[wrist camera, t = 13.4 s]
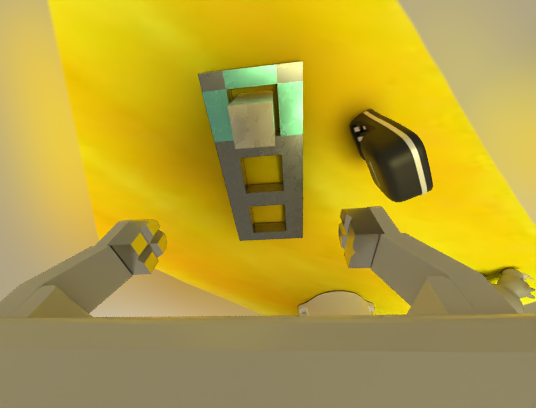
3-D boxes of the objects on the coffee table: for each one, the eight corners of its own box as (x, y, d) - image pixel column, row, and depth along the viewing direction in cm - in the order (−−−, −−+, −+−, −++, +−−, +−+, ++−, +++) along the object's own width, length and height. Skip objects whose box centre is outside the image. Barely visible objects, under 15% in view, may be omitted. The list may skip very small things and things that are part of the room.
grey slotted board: (301, 227, 37) (302, 238, 35) (241, 230, 38) (239, 241, 36) (300, 60, 23) (302, 61, 21) (204, 72, 24) (197, 73, 22)
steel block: (275, 124, 27) (275, 145, 20) (245, 126, 27) (235, 149, 21) (272, 89, 25) (271, 101, 18) (240, 92, 25) (227, 106, 18)
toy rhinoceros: (497, 268, 46) (554, 298, 39) (455, 302, 47) (504, 338, 39) (495, 251, 43) (558, 279, 35) (450, 287, 43) (502, 323, 36)
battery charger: (340, 123, 27) (375, 158, 17) (370, 105, 25) (424, 134, 16) (358, 165, 30) (395, 214, 21) (385, 151, 29) (438, 197, 19)
